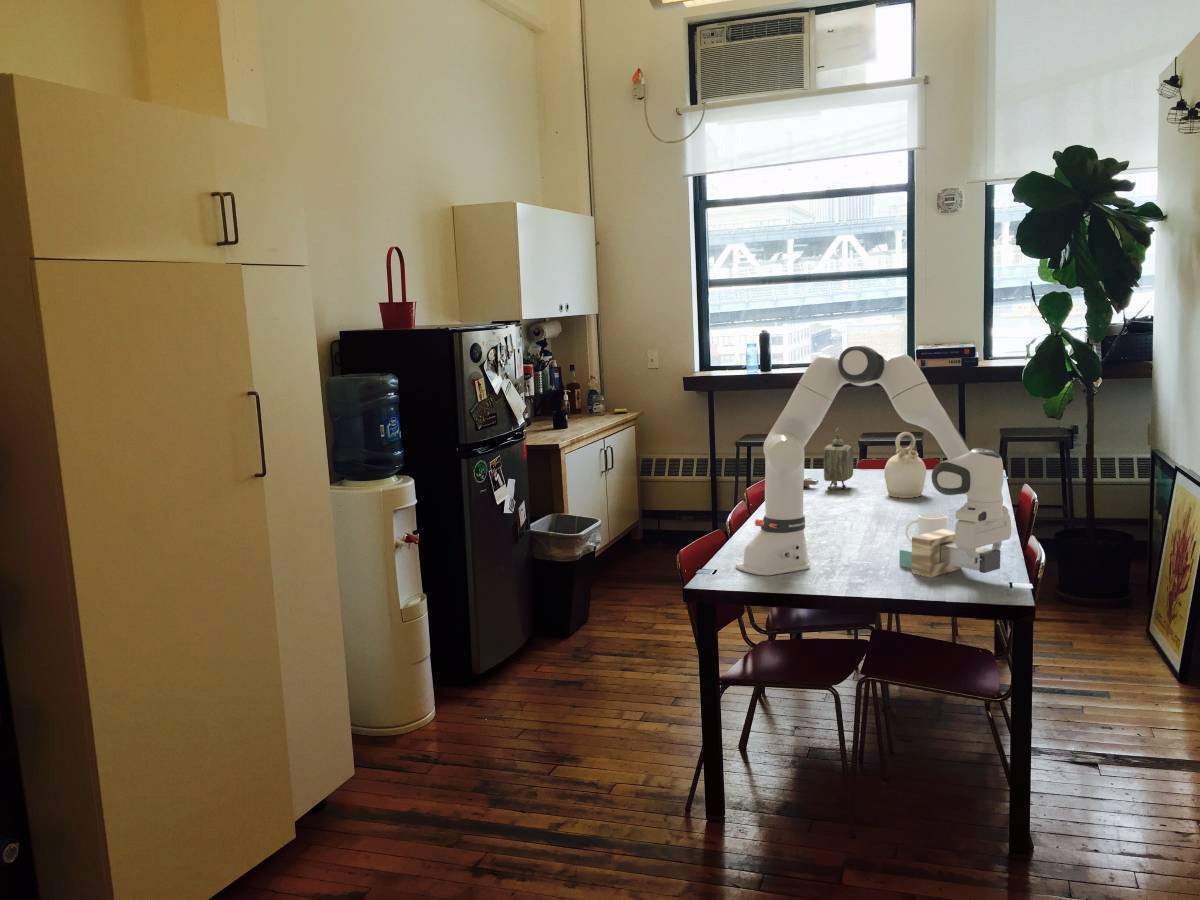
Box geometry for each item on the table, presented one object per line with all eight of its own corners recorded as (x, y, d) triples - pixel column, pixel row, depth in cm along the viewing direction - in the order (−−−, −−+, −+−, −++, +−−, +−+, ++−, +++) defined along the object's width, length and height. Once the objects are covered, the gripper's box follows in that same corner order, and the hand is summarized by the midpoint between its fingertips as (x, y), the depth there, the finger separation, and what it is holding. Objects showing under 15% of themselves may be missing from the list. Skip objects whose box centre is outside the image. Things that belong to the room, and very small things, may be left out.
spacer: (917, 553, 279) (899, 549, 284) (917, 570, 280) (899, 566, 285) (930, 549, 283) (912, 546, 288) (930, 566, 284) (912, 562, 288)
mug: (903, 556, 295) (904, 517, 293) (908, 550, 302) (908, 511, 301) (945, 559, 290) (946, 519, 288) (948, 552, 297) (949, 513, 296)
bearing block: (929, 577, 272) (930, 540, 270) (911, 573, 277) (911, 536, 275) (961, 568, 280) (961, 532, 278) (942, 564, 284) (943, 528, 283)
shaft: (984, 573, 261) (984, 554, 261) (919, 559, 278) (919, 541, 277) (1000, 568, 265) (1000, 550, 265) (934, 554, 282) (935, 537, 281)
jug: (929, 499, 377) (929, 433, 374) (887, 499, 380) (887, 434, 376) (922, 491, 392) (923, 428, 389) (882, 492, 395) (882, 429, 391)
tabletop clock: (832, 485, 414) (831, 425, 410) (854, 485, 410) (853, 425, 406) (823, 491, 401) (823, 429, 397) (846, 492, 397) (846, 430, 393)
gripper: (997, 502, 272) (995, 552, 273) (951, 513, 260) (950, 564, 262) (1018, 506, 266) (1016, 556, 268) (972, 517, 255) (971, 569, 257)
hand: (983, 560), depth 265 cm, fingers open, 8 cm apart
